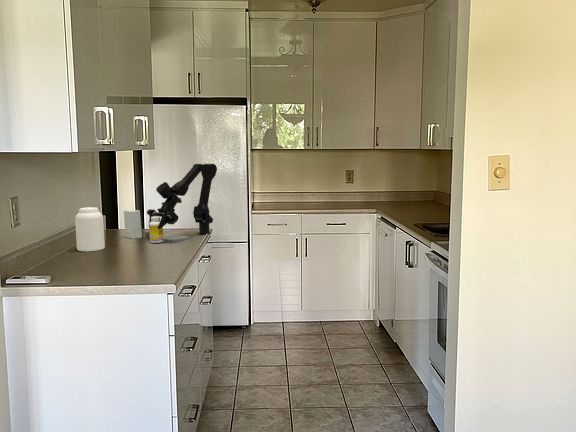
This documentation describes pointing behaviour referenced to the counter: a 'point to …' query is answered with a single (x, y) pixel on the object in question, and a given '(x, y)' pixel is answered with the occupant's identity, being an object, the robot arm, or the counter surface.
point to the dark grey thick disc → (147, 235)
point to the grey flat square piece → (175, 238)
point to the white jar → (89, 230)
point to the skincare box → (132, 224)
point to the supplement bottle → (155, 230)
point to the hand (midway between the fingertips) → (153, 228)
